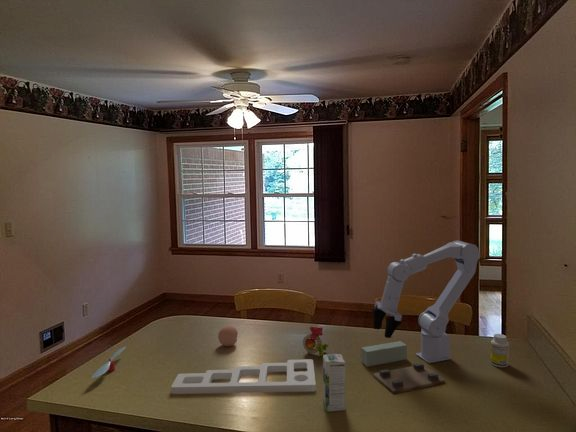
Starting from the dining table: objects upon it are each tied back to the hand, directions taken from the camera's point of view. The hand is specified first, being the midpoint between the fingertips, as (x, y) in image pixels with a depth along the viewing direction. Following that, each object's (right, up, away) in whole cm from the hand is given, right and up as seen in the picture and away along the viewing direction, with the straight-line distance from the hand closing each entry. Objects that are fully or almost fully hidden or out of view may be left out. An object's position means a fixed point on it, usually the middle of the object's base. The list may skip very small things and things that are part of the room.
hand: (381, 333), depth 149 cm
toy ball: (-57, -10, +19) cm, 61 cm away
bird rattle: (-23, -11, +9) cm, 27 cm away
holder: (-47, -13, -9) cm, 50 cm away
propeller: (-96, -13, 0) cm, 97 cm away
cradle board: (+6, -12, -12) cm, 18 cm away
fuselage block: (+1, -11, +2) cm, 11 cm away
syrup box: (-20, -14, -27) cm, 36 cm away
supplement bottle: (+40, -10, -4) cm, 41 cm away
